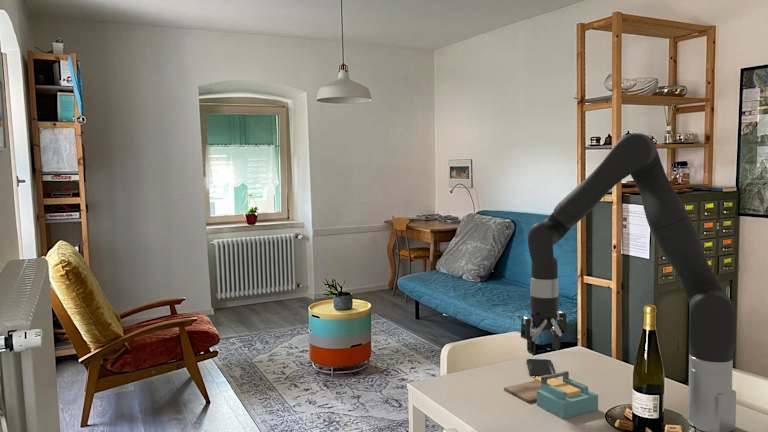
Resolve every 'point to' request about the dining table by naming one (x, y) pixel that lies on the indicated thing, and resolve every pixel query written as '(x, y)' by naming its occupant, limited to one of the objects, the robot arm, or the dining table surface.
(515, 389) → the walnut mat
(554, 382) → the ticket card
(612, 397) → the dining table surface
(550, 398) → the ticket dispenser
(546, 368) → the phone
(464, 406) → the dining table surface
